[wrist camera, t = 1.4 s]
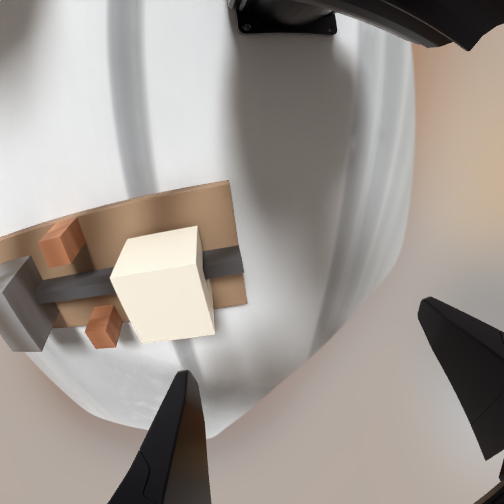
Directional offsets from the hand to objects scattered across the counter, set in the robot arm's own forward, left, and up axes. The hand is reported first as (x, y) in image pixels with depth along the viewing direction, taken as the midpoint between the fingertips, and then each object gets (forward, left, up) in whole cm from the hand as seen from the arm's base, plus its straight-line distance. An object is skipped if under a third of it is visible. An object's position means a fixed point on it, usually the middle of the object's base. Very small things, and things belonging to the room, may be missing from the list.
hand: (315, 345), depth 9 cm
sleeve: (+7, +3, -11) cm, 13 cm away
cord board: (+13, +3, -12) cm, 18 cm away
